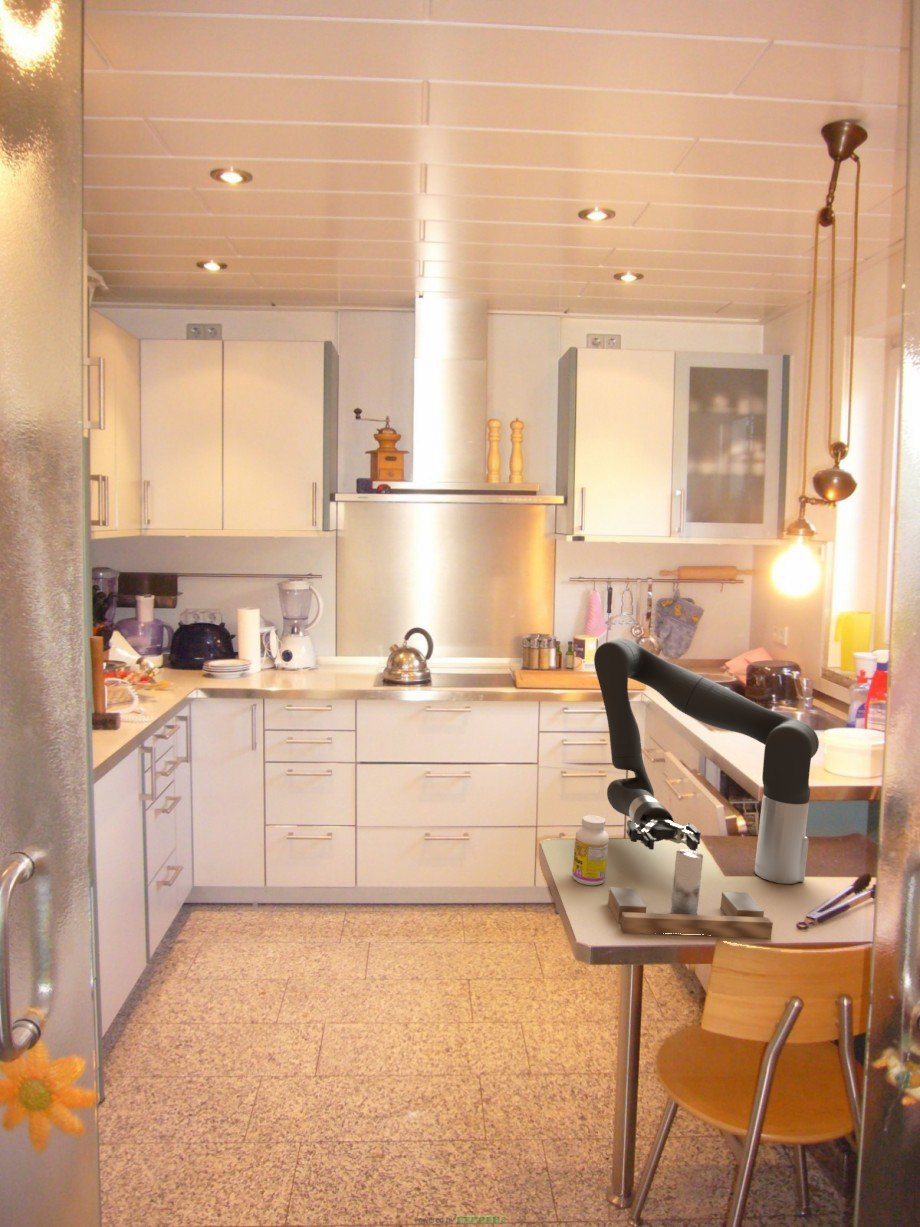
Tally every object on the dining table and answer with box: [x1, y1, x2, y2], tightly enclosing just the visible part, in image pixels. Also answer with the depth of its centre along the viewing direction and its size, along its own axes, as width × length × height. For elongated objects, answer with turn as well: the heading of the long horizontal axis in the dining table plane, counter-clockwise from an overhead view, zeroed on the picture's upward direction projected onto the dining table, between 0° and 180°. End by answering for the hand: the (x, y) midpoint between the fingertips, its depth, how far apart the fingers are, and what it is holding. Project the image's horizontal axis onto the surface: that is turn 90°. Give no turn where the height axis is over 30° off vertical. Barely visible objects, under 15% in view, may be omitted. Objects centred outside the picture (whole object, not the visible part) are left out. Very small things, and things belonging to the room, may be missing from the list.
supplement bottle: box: [572, 814, 610, 886], centre depth 181 cm, size 7×7×13 cm
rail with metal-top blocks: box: [607, 886, 774, 939], centre depth 166 cm, size 27×12×3 cm, turn 94°
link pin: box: [670, 848, 704, 915], centre depth 168 cm, size 5×5×12 cm
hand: (673, 845), depth 177 cm, fingers open, 8 cm apart
